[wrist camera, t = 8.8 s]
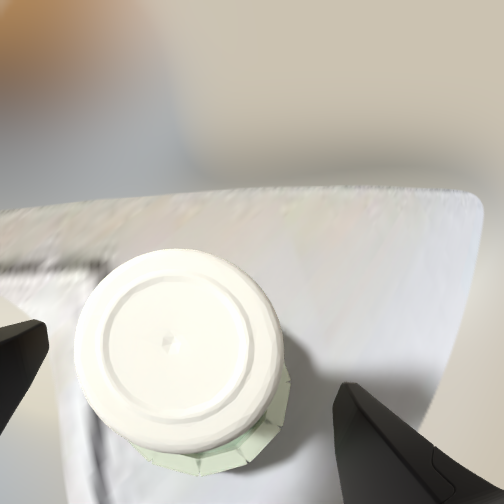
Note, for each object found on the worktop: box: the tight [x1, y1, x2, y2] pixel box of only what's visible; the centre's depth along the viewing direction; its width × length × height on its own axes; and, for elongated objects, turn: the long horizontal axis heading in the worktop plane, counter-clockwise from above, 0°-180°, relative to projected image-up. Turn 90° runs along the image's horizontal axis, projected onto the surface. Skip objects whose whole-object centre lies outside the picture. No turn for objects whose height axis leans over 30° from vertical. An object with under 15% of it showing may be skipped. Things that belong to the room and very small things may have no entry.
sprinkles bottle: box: [74, 249, 284, 455], centre depth 12 cm, size 5×5×14 cm
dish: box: [127, 363, 291, 477], centre depth 17 cm, size 10×10×2 cm
